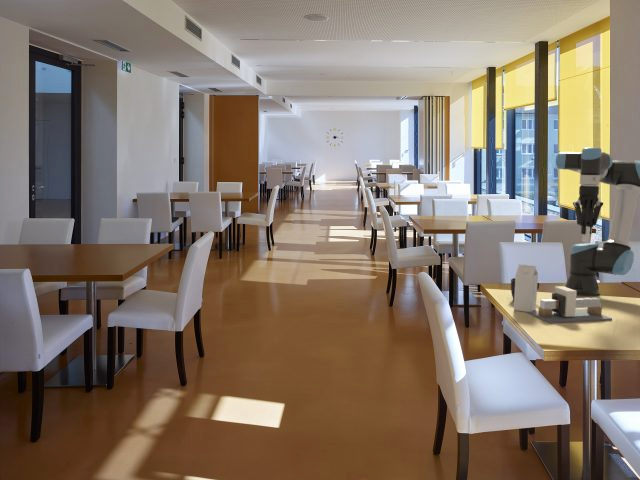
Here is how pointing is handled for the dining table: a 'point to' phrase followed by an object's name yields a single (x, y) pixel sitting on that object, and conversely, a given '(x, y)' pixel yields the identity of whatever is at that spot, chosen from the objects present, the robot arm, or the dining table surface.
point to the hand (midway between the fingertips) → (585, 242)
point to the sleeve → (568, 299)
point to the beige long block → (591, 303)
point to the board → (572, 317)
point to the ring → (562, 303)
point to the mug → (514, 287)
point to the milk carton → (525, 288)
